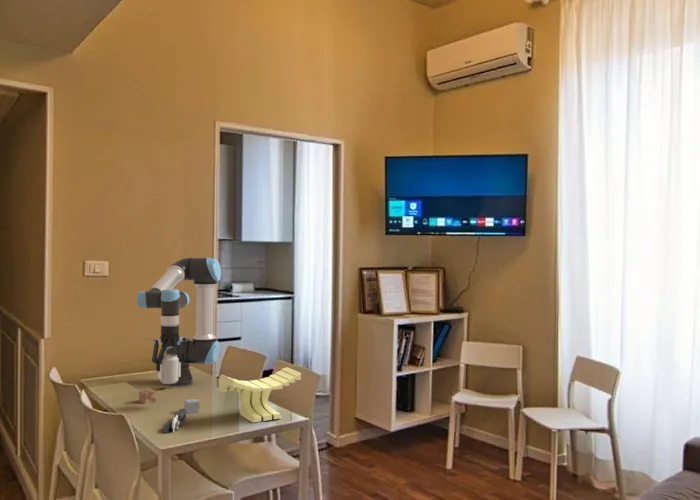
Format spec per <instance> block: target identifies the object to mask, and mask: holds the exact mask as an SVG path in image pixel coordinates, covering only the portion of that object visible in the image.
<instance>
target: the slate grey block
mask: <svg viewBox="0 0 700 500" xmlns="http://www.w3.org/2000/svg"><path fill="white" fill-rule="evenodd" d="M183 404H184V406H183V407H184V409H186V413H185V415H190V414H192V415H193V414H199V413H200V401H199V399H198V398H191V399H189V398H188V399H184V403H183Z"/></svg>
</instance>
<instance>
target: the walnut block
mask: <svg viewBox="0 0 700 500" xmlns="http://www.w3.org/2000/svg"><path fill="white" fill-rule="evenodd" d="M156 395H157V394H156V390H153V389H144V390H140V391H138V402H139V403H142V404H150V403H154V402H156Z"/></svg>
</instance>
